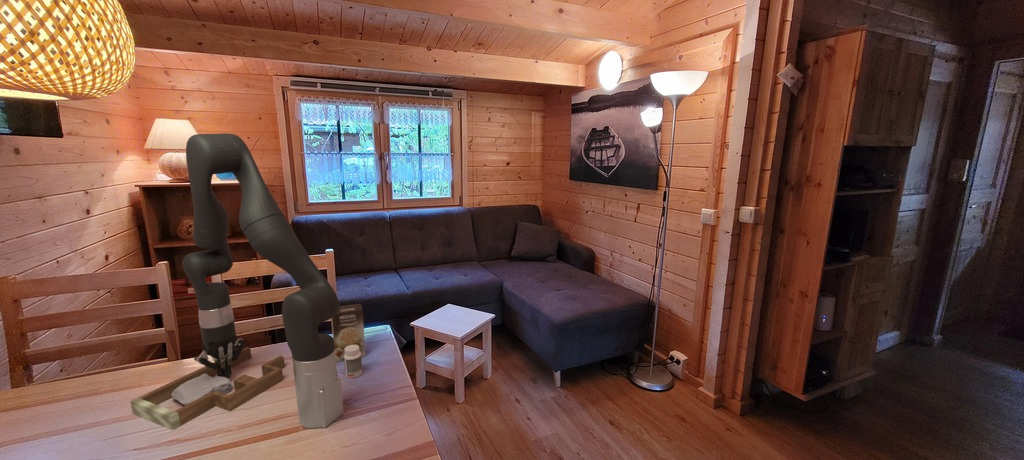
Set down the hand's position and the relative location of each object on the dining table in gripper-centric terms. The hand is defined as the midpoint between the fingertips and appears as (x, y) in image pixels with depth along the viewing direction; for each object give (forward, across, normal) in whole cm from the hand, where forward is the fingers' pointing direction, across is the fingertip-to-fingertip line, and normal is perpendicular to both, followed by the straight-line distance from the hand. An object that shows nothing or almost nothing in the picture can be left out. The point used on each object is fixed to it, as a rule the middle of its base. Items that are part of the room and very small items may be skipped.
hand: (225, 378), depth 111 cm
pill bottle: (+2, +17, -30) cm, 35 cm away
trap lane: (+1, -3, -3) cm, 4 cm away
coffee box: (+2, +25, -21) cm, 33 cm away
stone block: (+2, -7, 0) cm, 7 cm away
